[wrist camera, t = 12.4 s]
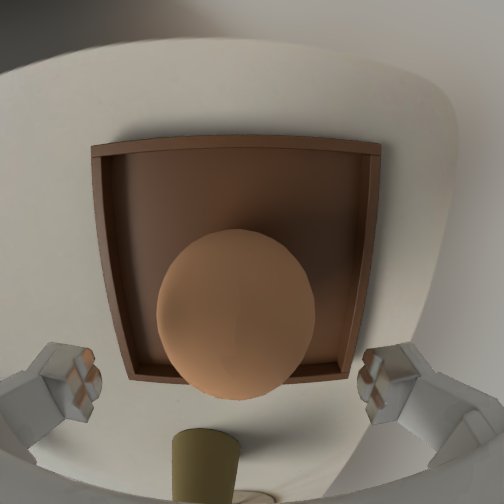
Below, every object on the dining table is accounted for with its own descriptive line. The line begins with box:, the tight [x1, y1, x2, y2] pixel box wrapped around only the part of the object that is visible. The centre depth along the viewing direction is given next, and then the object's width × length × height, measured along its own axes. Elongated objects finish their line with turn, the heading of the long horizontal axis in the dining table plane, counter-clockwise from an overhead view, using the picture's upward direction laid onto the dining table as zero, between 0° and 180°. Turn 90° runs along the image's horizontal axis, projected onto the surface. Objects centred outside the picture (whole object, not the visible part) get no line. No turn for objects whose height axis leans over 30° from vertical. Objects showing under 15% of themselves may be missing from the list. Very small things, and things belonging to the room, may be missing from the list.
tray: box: [91, 135, 381, 385], centre depth 16 cm, size 14×14×2 cm
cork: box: [172, 429, 240, 504], centre depth 16 cm, size 6×6×11 cm
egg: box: [156, 229, 315, 400], centre depth 12 cm, size 6×6×8 cm
